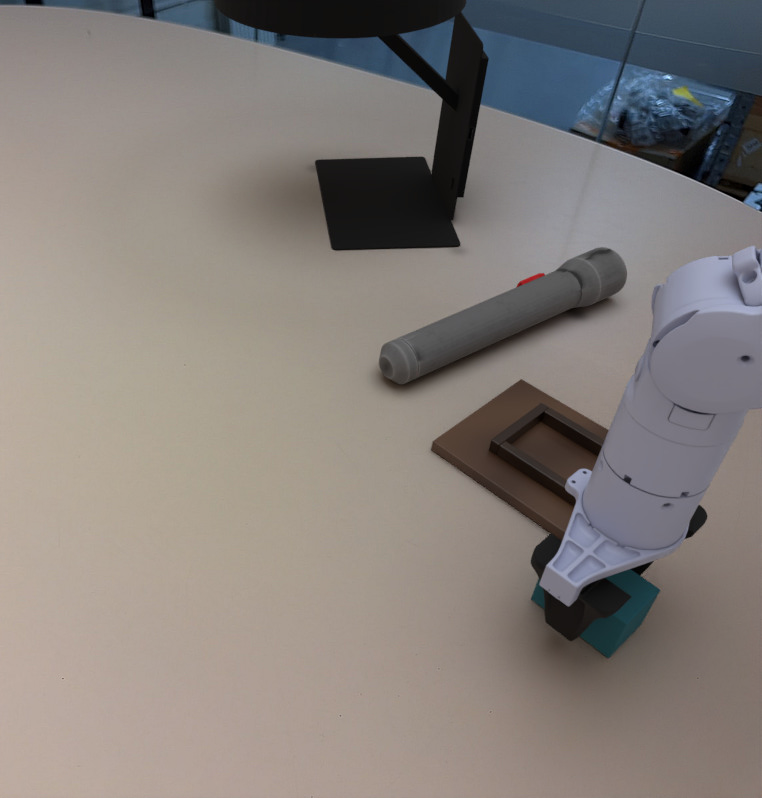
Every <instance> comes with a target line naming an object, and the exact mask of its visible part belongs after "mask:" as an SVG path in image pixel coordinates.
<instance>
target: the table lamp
mask: <svg viewBox="0 0 762 798" xmlns="http://www.w3.org/2000/svg"><path fill="white" fill-rule="evenodd" d="M213 2H214V5H215V7H216V9H217V10H218V11H219V12H220V14H222V15H223V16H225V17H226V18H228V19H230V20H232V21H234V22H236V23H238V24H239V25H240V24H241V25H243V26H246V27H248V28H249V27H250V28H253V29H255V30H260V31H263V32H268V33H273V34H279V35H286V36H293V37H303V38H313V39H314V38H315V39H339V40H340V39H341V40H342V39H344V40H345V39H368V38H370V39H371V38H378V39H379V40H380V41H382V43H383V44H384V45H385V46H386V47H387V48H388V49H390V50H391V52H393V53H394V54H395V56H397V57H398V58H399V59H400V60H401V62H403V63H404V64H405V65H406V66H407V67H408V68H409V69H410V70H411V71H412V72H413V73H415V74H416V75H417V77H418V78H420V79H421V80H422V81H423V82H424V83H425V84H426V85H427V86H428V87H429V88H430V89H431V90H432V91H433V92H434V93H435V94H436V95H437V96H438V97H439V98H440V99H441V105H440V113H439V119H438V126H437V131H436V132H437V133H436V140H435V146H434V153H433V159H432V165H431V169H430V166H429V164H428V162H427V159H426V157H425V156H395V157H394V156H391V157H390V156H389V157H361V158H359V157H357V158H356V157H355V158H354V157H353V158H326V159H325V158H321V159H315V161H314V164H315V168H316V175H317V180H318V184H319V185H318V186H319V190H320V194H321V195H320V196H321V201H322V206H323V210H324V211H323V212H324V216H325V221H326V226H327V230H328V236H329V241H330V248H331V249H332V250H333V251H353V250H354V251H356V250H358V251H359V250H391V249H393V250H394V249H423V248H424V249H425V248H457V247H458V248H459V247H460V246H461V241H460V239H459V235H458V233H457V232H456V228H455V226H454V224H453V222H452V221H453V220H454V218H455V214H456V213H455V212H456V207H457V202H458V199H459V198H461V199H462V198H463V199H464V198H465V197H464V196H465V191H466V186H467V181H468V176H469V175H468V174H469V169H470V162H471V158H472V153H473V147H474V143H475V136H476V130H477V125H478V120H479V114H480V109H481V104H482V98H483V93H484V86H485V81H486V75H487V71H488V70H487V69H488V66H489V65H488V64H489V59H490V58H489V56H488V55H487V53H486V52H485V50H484V43H483V41H482V39H481V38H480V36H479V35H478V33H477V32H476V31H475V29H474V28H473V26H472V25H471V24H470V22H469V21H468V19H467V18H466V16H465V15H464V14H463V12H462V11H463V10H464V9H465V7H466V5H467V0H214V1H213ZM453 18H454V20H453V26H452V31H451V32H452V33H451V40H450V45H449V52H448V60H447V66H446V72H445V78H444V77H443V76H442V75H441V74H440V73H439V72H438V71H437V70H436V69H435V68H434V67H433V66H432V65H431V64H430V63H428V62H427V60H426V59H425V58H424V57H423V56H422V55H421V54H420V53H418V51H416V49H414V48H413V47H412V46H411V45H410V44H409V42H407V41H406V40H405V39H404V38H403V37H402V36H401V34H409V33H412V32H418V31H423V30H425V29H429V28H432V27H435V26H438V25H441V24H444V23H445V22H448V21H449V20H451V19H453Z"/></svg>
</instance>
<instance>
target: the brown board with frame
mask: <svg viewBox="0 0 762 798" xmlns="http://www.w3.org/2000/svg"><path fill="white" fill-rule="evenodd" d="M608 431H609V428H606V427H604V426H603V425H601V424H599V423H597V422H596V421H594V420H592V419H591V418H588V417H587V416H585V415H584V414H582V413H580V412H578V411H577V410H575V409H573V408H571V407H570V406H568V405H567V404H564V403H563V402H561V401H560V400H558V399H556V398H555V397H553V396H551V395H550V394H548V393H546V392H545V391H542V390H541V389H540V388H537V387H536V386H534V385H532V384H531V383H529V382H527V381H525V380H524V379H522V378H521V379H519V380H517V381H516V382H514V383H513V384H512V385H511V386H509V387H508V388H506V389H505V390H504V391H502V392H501V393H499V394H497V396H495V397H493V398H492V399H491V400H489V401H488V402H486V403H485V404H484V405H482V406H480V407H479V408H478V409H477V410H475V411H474V412H472V413H470V414H469V415H468V416H467V417H465V418H463V419H462V420H461V421H460V422H458V423H456V424H455V425H453V426H452V427H451V428H449V429H448V430H446V431H445V432H444V433H443V434H441V435H440V436H437V438H435V439H434V440H432V443H431V448H430V449H431V451H433V452H434V453H436V454H437V455H438V456H440V457H441V458H443V459H444V460H445V461H447V462H448V463H450V464H451V465H453V466H454V467H456V468H457V469H458V470H459V471H461V472H463V473H464V474H466V475H467V476H469V478H471V479H472V480H474V481H476V482H477V483H479V484H480V485H481V486H483V487H484V488H486V489H487V490H489V491H490V492H492V493H493V494H494V495H496V496H497V497H499V498H500V499H501V500H503V501H505V502H506V504H508V505H510V506H512V507H513V508H514V509H516V510H517V511H518V512H519V513H522V514H523V515H524V516H526V517H527V518H528V519H530V520H532V521H533V522H535V523H536V524H537V525H539V526H540V527H541V528H543V529H545V530H546V531H547V532H549V533H550V534H553V535H554V536H556V537H557V538H559V539H560V540H563V537H564V534H565V532H566V529H567V526H568V523H569V521H570V518H571V515H572V512H573V510H574V507H575V504H576V499H575V497H574V496H573V495H571V494H570V493H568V492H567V491H566V490H565V485H566V482H567V480H568V478H569V477H570V476H572V475H573V474H574V473H575V472H576V471H578V470H579V469H588V470H590V471H593V468H594V466H595V463H596V461H597V458H598V456H599V453H600V451H601V448H602V446H603V443H604V441H605V438H606V436H607V433H608Z"/></svg>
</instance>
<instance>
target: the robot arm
mask: <svg viewBox="0 0 762 798" xmlns="http://www.w3.org/2000/svg"><path fill="white" fill-rule="evenodd" d="M650 303H651V306H650V307H651V314H652V322H651V323H652V325H651V333H650V337H649V339H648V341H647V343H646V346H645V349H644V351H643V353H642V355H641V356H640V358H638V361H637V363H636V365H635V369H634V372H633V374H632V375H631V376H630V378H629V380H628V381H627V384H626V386H625V388H624V391H623V394H622V396H621V399H620V400H619V403H618V406H617V409H616V411H615V413H614V415H613V418H612V421H611V423H610V426H609V428H608V430H609V431H608V433H607V436H606V438H605V441H604V443H603V446H602V448H601V451H600V453H599V456H598V458H597V461H596V463H595V466H594V468H593V471H590V470H588V469H579V470H578V471H576V472H575V473H574V474H573V475H572V476H570V477H569V478H568V480H567V482H566V485H565V490H566V491H567V492H568V493H570V494H571V495H573V496H574V497H575V499H576V504H575V507H574V510H573V512H572V515H571V518H570V521H569V523H568V526H567V529H566V532H565V534H564V537H563V540H560V539H559V538H557V537H556V536H555V535H553V534H552V533H550V534H548V535H547V536H546V537H545V538H544V539H543V540H542V541H540V542H539V543H538V544H537V545H536V546H535V547H534V549H533V552H532V554H531V557H530V565H531V567H532V569H533V570H534V572H535V574H536V575H537V577H538V579H540V583H539V585H540V586H541V587H543V591H544V605H545V609H544V622H545V623H546V624H547V625H548V626H549V627H551V628H552V629H553V630H554V631H555V632H557V633H559V634H560V635H561V636H562V637H563V638H564V639H566V640H567V641H568V642H573V641H575V640H576V639H578V638H579V637H580V635H581V634H582V633H583V632H584V631H585V630H586V629H587V628H588V627H589V626H590V624H591V623H592V622H593V621H594V620H596V619H600V618H607V617H609V616H611V615H613V614H614V613H616V612H617V611H618V610H619V609H620V608H621V607H622V606H623V605H624V604H625V603H626V602H627V601H628V600H629V599H630V598H631V597H632V596H631V595H629V594H628V593H626V592H625V591H623V590H622V589H621V588H619V587H618V586H616V585H615V584H613V583H612V582H611V581H609V580H608V579H606V578H605V577H608V576H611V575H614V574H617V573H620V572H623V571H626V570H629V569H631V570H632V571H634V572H635V573H637V574H638V575H640V576H642V575H643V574H644V573H645V572H646V571H647V570H648V569H649V568H650V567H651V565H652V564H653V563H654V562H655V561H659V560H660V559H663V558H667V557H668V556H671V555H672V554H674V553H675V552H677V551H678V549H679V548H680V547H681V545H682V544H683V543H684V540H686V539H689V538H692V537H693V536H694V535H695V534H696V533H697V532H698V531H699V530H700V529H702V527H703V526H704V525H705V524H706V522H707V520H708V512H707V510H706V509H705V508H704V507H703V506H702V505H700V503H701V501H702V500H703V498H704V496H705V495H706V493H707V491H708V489H709V487H710V485H711V483H712V481H713V479H714V478H715V476H716V474H717V472H718V470H719V468H720V467H721V465H722V463H723V462H724V459H725V458H726V456H727V454H728V453H729V450H730V449H731V447H732V445H733V443H734V441H735V440H736V438H737V436H738V435H739V433H740V430H741V429H742V427H743V425H744V423H745V417H746V416H747V415H748V412H749V410H750V411H751V410H760V409H762V248H759V249H758V248H757V247H756V245H754V244H752V245H750V246H748V247H745V248H743V249H741V250H738V251H736V252H734V253H732V255H730V254H729V255H711V256H706V257H701V258H698V259H695V260H692V261H690V262H687V263H685V264H684V265H681V266H680V267H679V268H677V269H675V270H674V271H672V272H671V273H670V274H669V275H668V276H667V277H666V282H665V283H664V284H663V283H657V284H656V285H654V287H653V289H652V294H651V302H650Z"/></svg>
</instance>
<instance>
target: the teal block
mask: <svg viewBox="0 0 762 798" xmlns="http://www.w3.org/2000/svg"><path fill="white" fill-rule="evenodd" d="M605 578H606V579H608V580H609V581H611V582H612V583H613V584H615V585H616V586H618V587H619V588H621V589H622V590H623V591H625V592H626V593H628V594H629V595H631V596H632V597H631V598H630V599H629V600H628V601H627V602H626V603H625V604H624V605H623V606H622V607H621V608H620V609H619V610H618V611H617V612H616V613H614V614H613V615H611V616H609V617H607V618H600V619H596V620H594V621H593V622H592V623H591V624H590V626H589V627H588V628H587V629H586V630H585V631H584V632H583V633H582V634H581V635H580V636H579V637H580V638H581V639H583V641H585V642H586V643H588V644H589V645H590V646H591V647H593V648H594V649H595V650H597V651H598V652H599V653H601V654H602V655H603V656H605V657H606V658H607V659H610V658H611V657H612V655H614V654H615V653H616V651H617V650H618V649H619V648H621V646H622V645H623V644H624V643H625V642H626V641H627V640H628V639H629V638H630V637H632V635H633V634H634V633H635V632H636V631H637V630H638V628H639V627H640V626H642V625H643V622H645V621H644V620H645V619H646V617H647V615H648V613H650V610H651V608H652V607H653V604H654V603H655V602H656V599H657V598H658V596H659V595H660V592H661V589H660V588H659V587H658V586H656V585H655V584H653V583H652V582H650V581H648V580H647V579H645V578H644V577H643V576H642V575H638V574H637V573H635V572H634V571H632V570H631V569H629V570H626V571H623V572H620V573H617V574H614V575H611V576H608V577H605ZM539 583H540V579H539V578H538V579H537V582H536V584H535V587H534V588H533V589H534V590H533V592H532V594H531V597H530V600H531V601H532V602H534V603H535V604H537V605H538V606H539V607H541V608H542V609H543V610H545V605H544V591H543V587H541V586H540V585H539Z"/></svg>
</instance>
